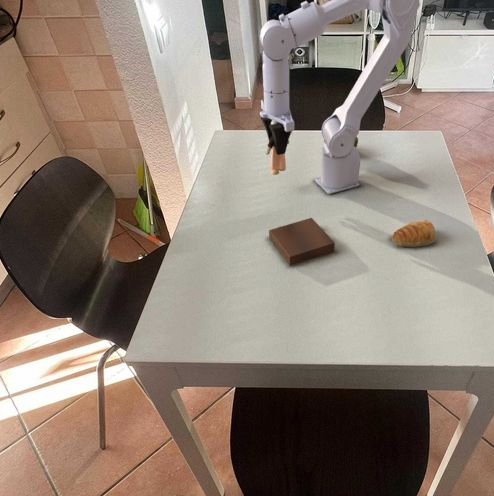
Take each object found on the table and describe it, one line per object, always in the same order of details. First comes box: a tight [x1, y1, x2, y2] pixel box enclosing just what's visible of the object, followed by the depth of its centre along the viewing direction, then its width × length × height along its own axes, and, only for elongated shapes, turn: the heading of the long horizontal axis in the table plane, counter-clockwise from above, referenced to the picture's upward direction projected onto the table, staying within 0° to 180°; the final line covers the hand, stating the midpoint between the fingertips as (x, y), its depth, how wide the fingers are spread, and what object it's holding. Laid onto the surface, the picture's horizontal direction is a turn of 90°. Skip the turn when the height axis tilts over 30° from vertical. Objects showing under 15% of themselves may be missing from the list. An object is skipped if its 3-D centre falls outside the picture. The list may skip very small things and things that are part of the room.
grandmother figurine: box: [265, 120, 290, 176], centre depth 104 cm, size 8×4×13 cm, turn 148°
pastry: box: [391, 219, 437, 248], centre depth 96 cm, size 9×7×4 cm
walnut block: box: [268, 217, 336, 267], centre depth 96 cm, size 11×11×2 cm
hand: (277, 150), depth 105 cm, fingers closed on grandmother figurine, 3 cm apart
